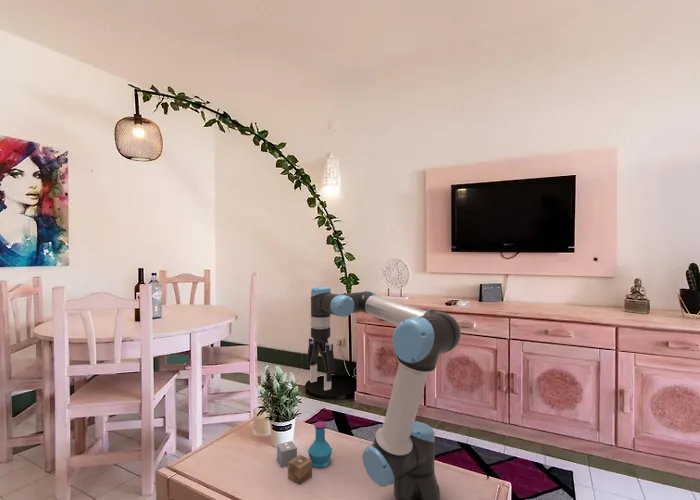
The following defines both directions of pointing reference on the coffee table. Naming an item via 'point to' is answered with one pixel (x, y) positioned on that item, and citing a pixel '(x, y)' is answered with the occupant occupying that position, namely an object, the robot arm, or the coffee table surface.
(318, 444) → the perfume bottle
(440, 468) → the coffee table surface
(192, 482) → the coffee table surface
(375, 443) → the robot arm
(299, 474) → the walnut block
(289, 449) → the slate block
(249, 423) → the coffee table surface
